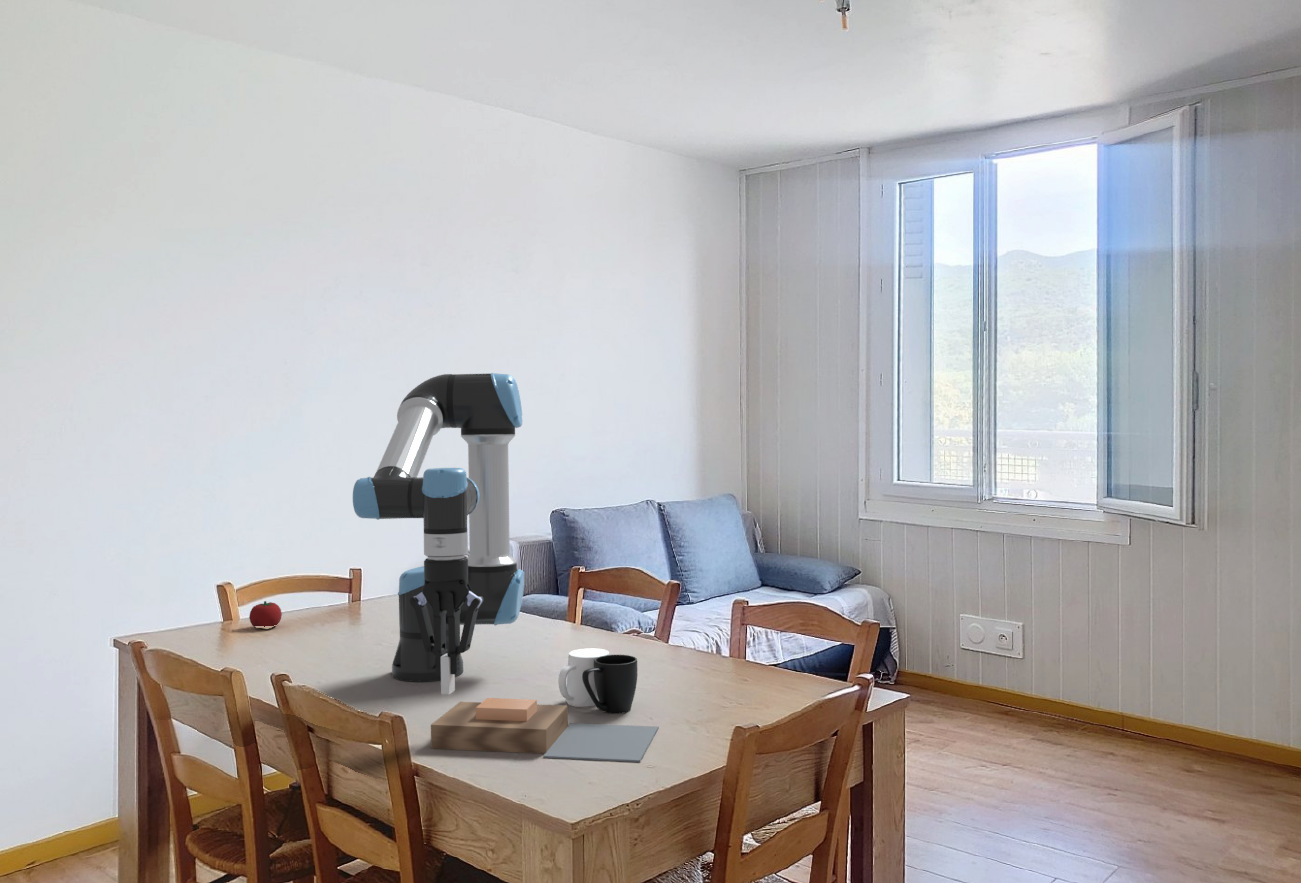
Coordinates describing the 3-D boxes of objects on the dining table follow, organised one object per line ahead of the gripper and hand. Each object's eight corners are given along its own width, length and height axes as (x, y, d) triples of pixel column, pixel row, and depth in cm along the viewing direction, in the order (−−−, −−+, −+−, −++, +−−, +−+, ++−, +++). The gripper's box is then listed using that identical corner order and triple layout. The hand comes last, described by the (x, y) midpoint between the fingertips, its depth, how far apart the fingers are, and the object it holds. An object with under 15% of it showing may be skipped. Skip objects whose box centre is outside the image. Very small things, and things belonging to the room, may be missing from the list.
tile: (475, 719, 176) (475, 707, 176) (487, 709, 182) (487, 698, 182) (526, 721, 175) (526, 709, 175) (536, 711, 181) (536, 699, 181)
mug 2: (569, 713, 193) (569, 663, 193) (618, 701, 201) (617, 652, 201) (598, 723, 187) (597, 670, 187) (646, 709, 195) (646, 659, 195)
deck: (431, 748, 174) (430, 724, 174) (460, 723, 188) (460, 701, 187) (546, 753, 170) (546, 729, 170) (567, 728, 184) (567, 705, 184)
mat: (543, 757, 168) (543, 755, 168) (570, 724, 186) (570, 723, 186) (640, 762, 166) (640, 760, 166) (658, 728, 183) (658, 726, 183)
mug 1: (593, 645, 208) (620, 651, 202) (594, 691, 208) (621, 699, 202) (547, 656, 199) (574, 662, 194) (547, 704, 200) (574, 712, 194)
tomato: (275, 631, 271) (274, 603, 271) (245, 631, 272) (244, 604, 271) (286, 624, 279) (286, 598, 279) (257, 625, 280) (256, 598, 279)
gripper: (401, 559, 177) (403, 696, 177) (474, 560, 175) (476, 699, 175) (418, 554, 185) (421, 686, 185) (489, 554, 182) (491, 688, 183)
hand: (448, 692), depth 180 cm, fingers closed
